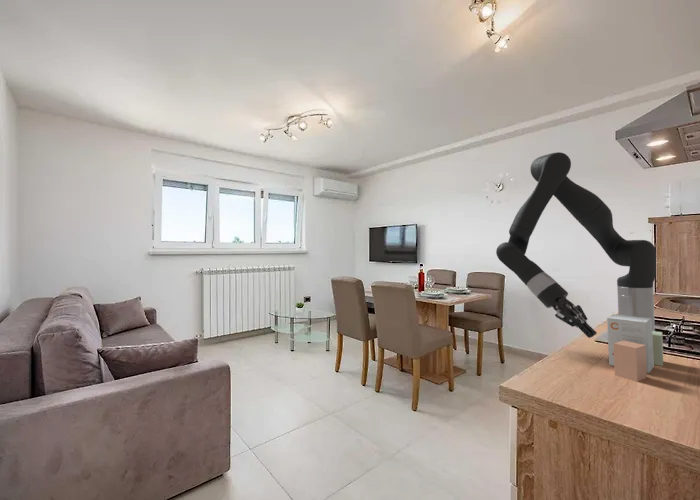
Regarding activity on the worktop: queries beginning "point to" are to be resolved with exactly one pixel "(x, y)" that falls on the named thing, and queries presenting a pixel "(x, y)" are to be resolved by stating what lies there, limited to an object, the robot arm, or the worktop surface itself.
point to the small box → (631, 335)
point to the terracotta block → (630, 360)
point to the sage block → (658, 348)
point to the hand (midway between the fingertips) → (593, 335)
